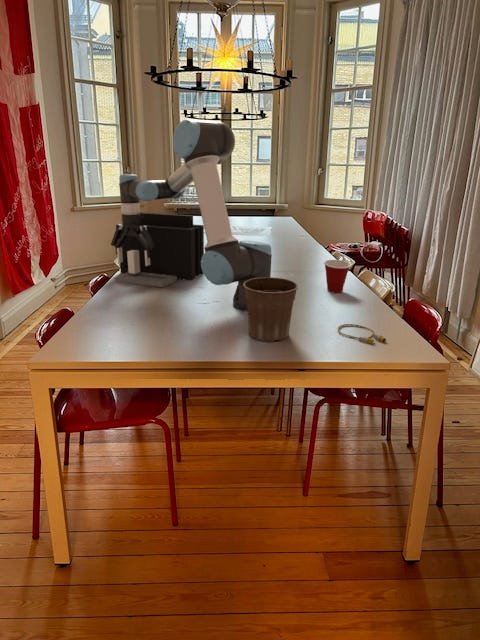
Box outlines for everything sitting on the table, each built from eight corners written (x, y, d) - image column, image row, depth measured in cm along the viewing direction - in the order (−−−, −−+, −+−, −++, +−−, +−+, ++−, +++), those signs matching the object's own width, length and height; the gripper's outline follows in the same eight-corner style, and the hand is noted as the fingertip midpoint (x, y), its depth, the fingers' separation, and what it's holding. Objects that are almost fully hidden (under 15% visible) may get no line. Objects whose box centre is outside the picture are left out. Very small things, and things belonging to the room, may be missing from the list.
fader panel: (163, 287, 190) (162, 282, 189) (115, 281, 197) (114, 276, 196) (176, 280, 200) (176, 275, 199) (130, 275, 207) (130, 270, 207)
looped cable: (347, 346, 136) (348, 340, 135) (332, 327, 150) (333, 321, 150) (387, 345, 137) (388, 339, 136) (368, 326, 151) (369, 321, 151)
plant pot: (290, 348, 132) (293, 294, 127) (235, 341, 136) (236, 288, 131) (298, 328, 147) (302, 279, 142) (249, 323, 151) (251, 275, 146)
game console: (120, 273, 211) (116, 213, 202) (151, 260, 238) (149, 206, 229) (191, 280, 201) (190, 218, 192) (215, 265, 228) (215, 210, 219)
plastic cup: (328, 295, 182) (331, 266, 178) (317, 288, 192) (319, 260, 188) (353, 294, 185) (356, 264, 181) (340, 287, 195) (343, 259, 191)
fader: (133, 275, 197) (132, 252, 194) (127, 274, 198) (126, 251, 195) (140, 272, 202) (139, 250, 199) (135, 272, 203) (133, 249, 200)
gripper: (161, 214, 191) (164, 264, 198) (110, 210, 199) (114, 259, 206) (152, 216, 184) (155, 268, 191) (99, 212, 192) (104, 263, 199)
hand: (134, 263), depth 198 cm, fingers open, 13 cm apart
